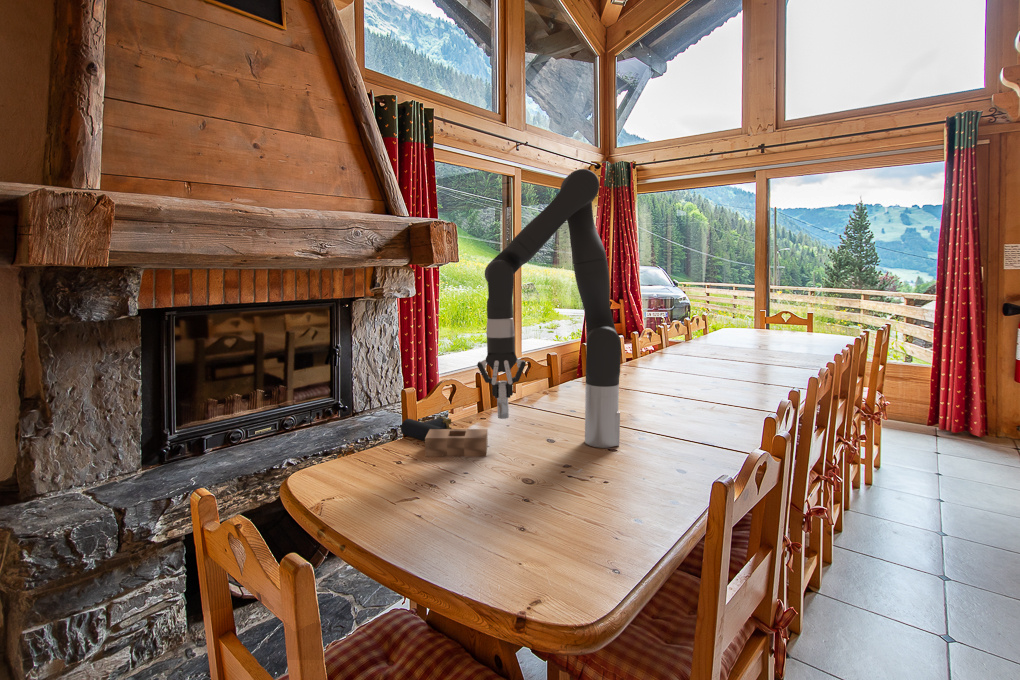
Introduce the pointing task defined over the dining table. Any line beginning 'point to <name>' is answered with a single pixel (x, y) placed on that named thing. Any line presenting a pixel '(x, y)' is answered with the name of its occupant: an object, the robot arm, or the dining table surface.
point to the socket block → (456, 443)
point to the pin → (502, 399)
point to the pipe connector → (423, 427)
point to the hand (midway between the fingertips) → (502, 397)
